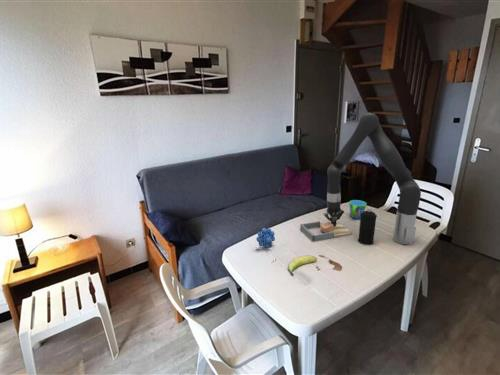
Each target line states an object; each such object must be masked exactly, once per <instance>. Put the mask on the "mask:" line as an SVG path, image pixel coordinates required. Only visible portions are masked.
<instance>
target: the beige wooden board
mask: <svg viewBox="0 0 500 375" xmlns="http://www.w3.org/2000/svg"><path fill="white" fill-rule="evenodd" d="M322 224H323V223H322ZM322 224H321V223H320V225H322ZM331 232H334V238H336V239H337V238H342V237H346V236H347V237H348V236H352V235H353V232H352V231H351V230H350V229H348V228H347V227H345V226H344V225H343V224H341V223H340V222H339V221H336V227H334V230H333V231H331ZM334 238H333V239H334Z"/></svg>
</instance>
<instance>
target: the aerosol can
mask: <svg viewBox="0 0 500 375" xmlns="http://www.w3.org/2000/svg"><path fill="white" fill-rule="evenodd" d="M360 215H361V218H360V219H359V220H360V221H359V228H358V230H359V232H358V239H357V241H358V242H359V243H360V244H362V245H365V246H370V245H373V244H375V242H374V239H375V232H376V231H375V230H376V223H377V222H376V221H377V218H378V215H377V214H376V213H375V212H374V211H372V207H370V206H367V210H365V211H364V212H362V213H361V214H360Z"/></svg>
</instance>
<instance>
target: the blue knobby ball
mask: <svg viewBox="0 0 500 375" xmlns="http://www.w3.org/2000/svg"><path fill="white" fill-rule="evenodd" d="M260 230H261V231H258V232H257V237H256V241H257V243H258V246H259V247H263V248H265V249H266V248H268V247H269V246H270V247H271V246H273V242H275V241H276V237H275V233H276V232H275V231H273V230H272V228H271V227H267V228H265V227H263V228H261V229H260Z"/></svg>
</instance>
